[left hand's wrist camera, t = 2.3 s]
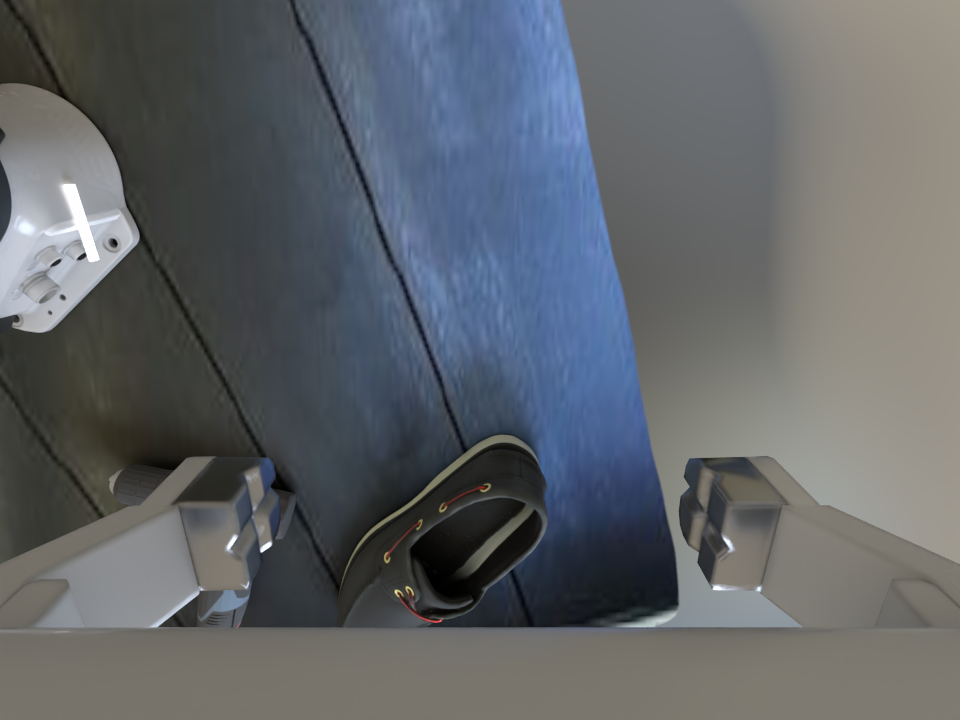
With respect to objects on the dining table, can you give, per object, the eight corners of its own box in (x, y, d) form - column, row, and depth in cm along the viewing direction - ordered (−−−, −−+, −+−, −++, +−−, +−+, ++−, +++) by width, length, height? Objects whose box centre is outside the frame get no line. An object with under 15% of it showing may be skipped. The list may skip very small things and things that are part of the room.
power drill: (121, 583, 63) (127, 443, 56) (276, 612, 65) (300, 481, 58) (91, 619, 58) (94, 471, 51) (260, 650, 60) (284, 511, 53)
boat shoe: (301, 576, 64) (274, 653, 54) (502, 416, 55) (510, 475, 46) (379, 628, 68) (365, 709, 58) (576, 487, 60) (597, 555, 50)
